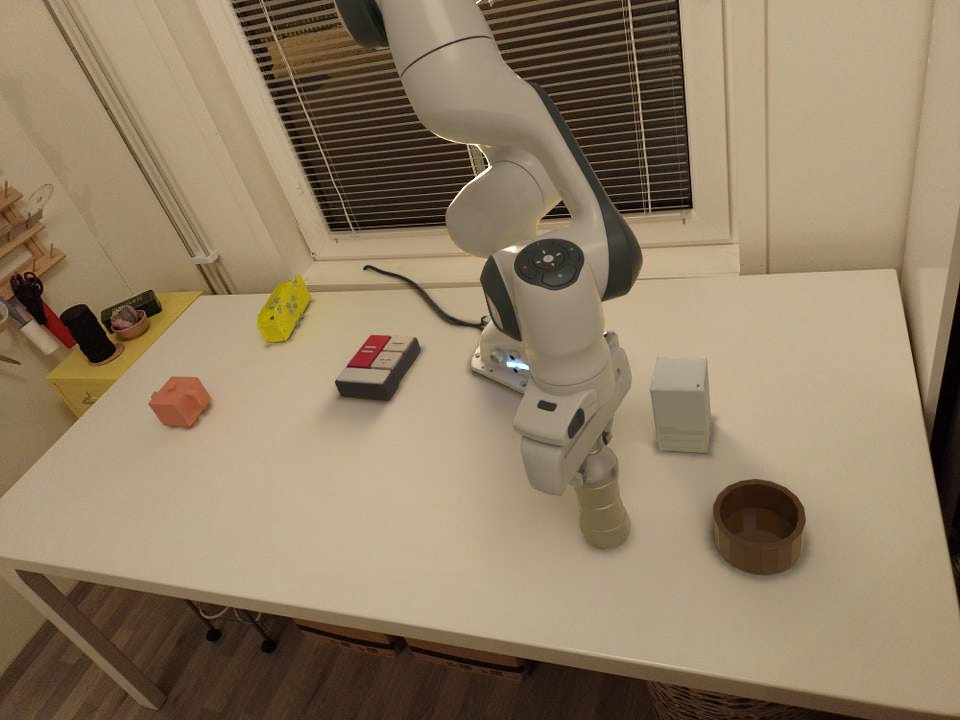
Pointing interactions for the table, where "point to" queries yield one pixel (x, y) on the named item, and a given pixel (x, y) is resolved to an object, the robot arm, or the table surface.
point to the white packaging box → (681, 404)
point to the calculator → (378, 367)
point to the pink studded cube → (180, 401)
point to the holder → (759, 526)
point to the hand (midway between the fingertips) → (591, 461)
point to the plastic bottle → (602, 499)
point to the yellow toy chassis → (283, 310)
